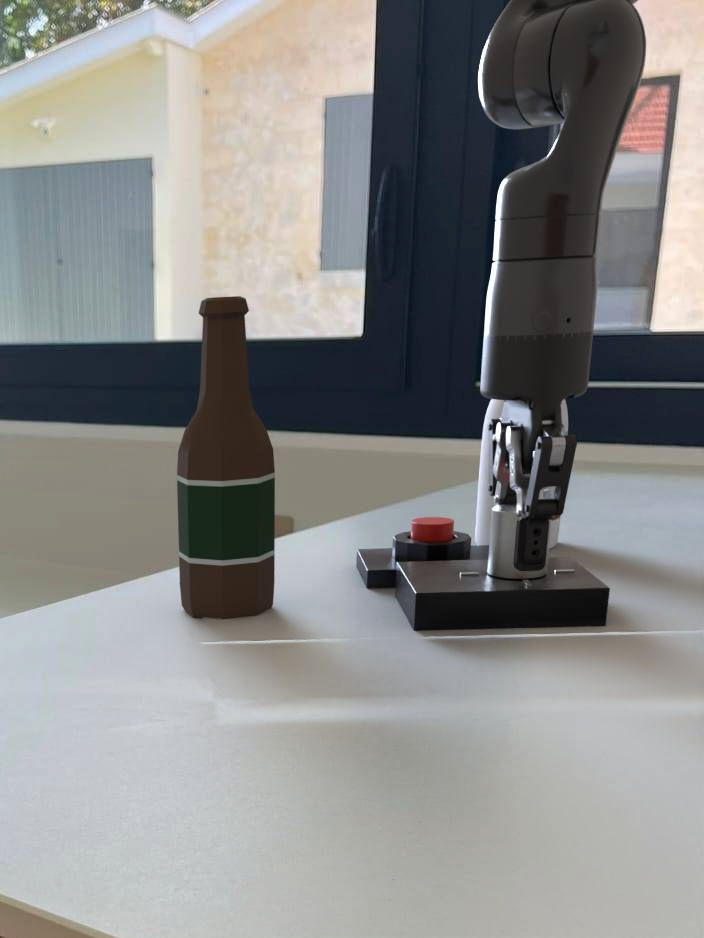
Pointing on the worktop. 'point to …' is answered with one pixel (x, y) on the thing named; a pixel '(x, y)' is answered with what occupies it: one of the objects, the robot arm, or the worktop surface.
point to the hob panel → (498, 596)
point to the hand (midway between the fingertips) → (518, 561)
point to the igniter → (413, 556)
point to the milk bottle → (484, 499)
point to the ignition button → (432, 529)
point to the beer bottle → (225, 480)
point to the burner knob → (507, 545)
